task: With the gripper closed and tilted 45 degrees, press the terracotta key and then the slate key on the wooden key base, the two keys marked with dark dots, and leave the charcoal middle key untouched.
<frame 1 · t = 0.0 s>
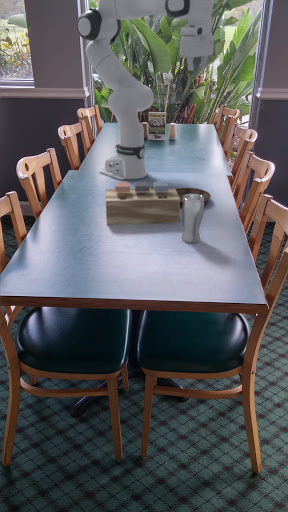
hand: (196, 69, 176), 48 cm above the table, tool pointing down, fingers open, 8 cm apart
slate key: (160, 186, 166), point 12 cm above the table, slide at 0.0 cm
beer glass: (190, 239, 153), on the table
plant saucer: (188, 202, 185), on the table
terracotta key: (122, 186, 164), point 12 cm above the table, slide at 0.0 cm
charcoal key: (141, 186, 165), point 12 cm above the table, slide at 0.0 cm
wooden key base: (141, 217, 169), on the table
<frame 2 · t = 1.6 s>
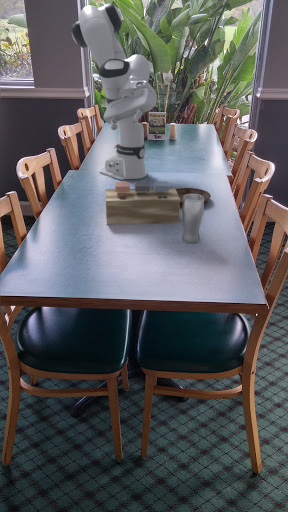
hand: (124, 125, 157), 33 cm above the table, tool tilted 50°, fingers open, 8 cm apart
nothing on the table moved.
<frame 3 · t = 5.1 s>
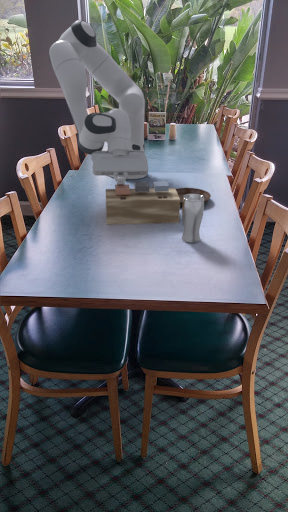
hand: (120, 185, 164), 12 cm above the table, tool tilted 45°, fingers closed, pressing on terracotta key
terracotta key: (122, 189, 165), point 11 cm above the table, slide at 1.0 cm, touching gripper
everything else where it was.
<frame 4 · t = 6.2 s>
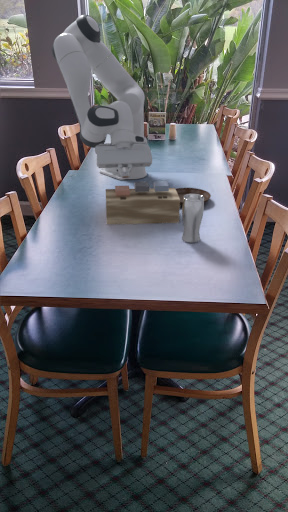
hand: (125, 177, 164), 15 cm above the table, tool tilted 45°, fingers closed
terracotta key: (122, 190, 165), point 10 cm above the table, slide at 1.4 cm
everything else where it was.
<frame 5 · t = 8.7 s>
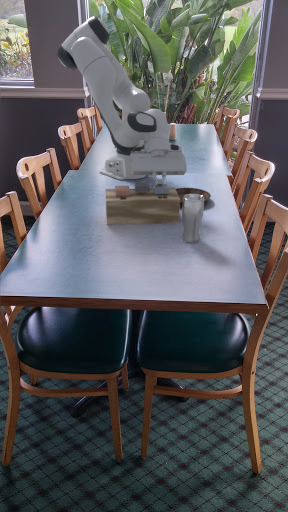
hand: (159, 184, 165), 12 cm above the table, tool tilted 45°, fingers closed, pressing on slate key
slate key: (160, 189, 166), point 10 cm above the table, slide at 1.0 cm, touching gripper
everything else where it was.
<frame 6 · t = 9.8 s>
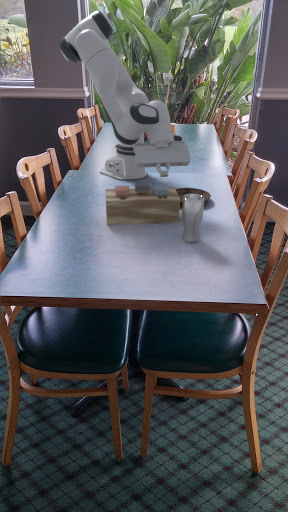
hand: (164, 176, 166), 15 cm above the table, tool tilted 45°, fingers closed
slate key: (160, 189, 166), point 10 cm above the table, slide at 1.4 cm
everything else where it was.
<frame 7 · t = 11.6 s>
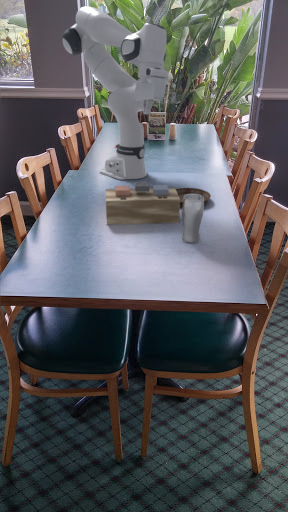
hand: (146, 114, 165), 35 cm above the table, tool pointing down, fingers closed
nothing on the table moved.
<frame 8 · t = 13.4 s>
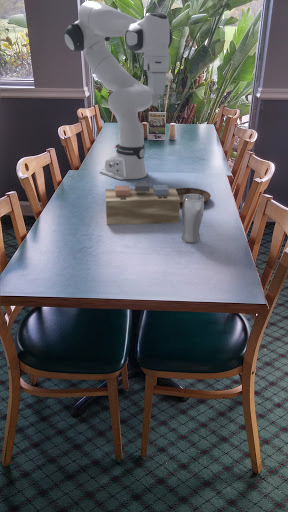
hand: (155, 105, 167), 37 cm above the table, tool pointing down, fingers closed
nothing on the table moved.
at the end: terracotta key slide at 1.4 cm; slate key slide at 1.4 cm; charcoal key slide at 0.0 cm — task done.
